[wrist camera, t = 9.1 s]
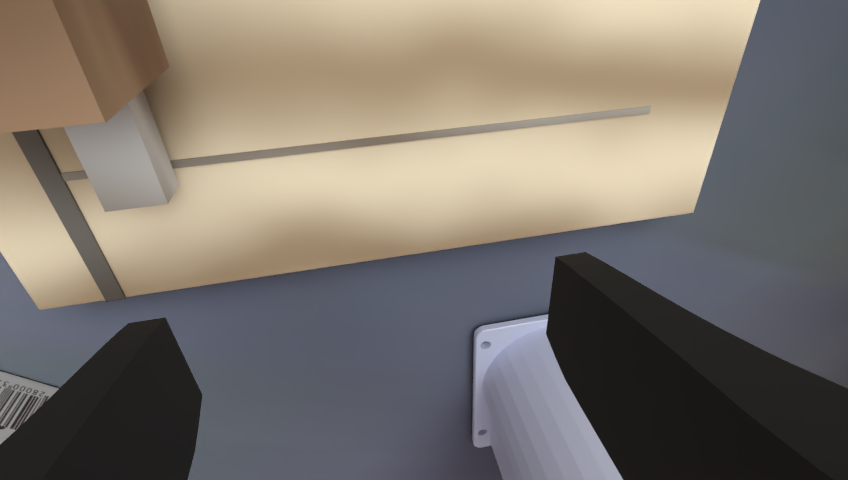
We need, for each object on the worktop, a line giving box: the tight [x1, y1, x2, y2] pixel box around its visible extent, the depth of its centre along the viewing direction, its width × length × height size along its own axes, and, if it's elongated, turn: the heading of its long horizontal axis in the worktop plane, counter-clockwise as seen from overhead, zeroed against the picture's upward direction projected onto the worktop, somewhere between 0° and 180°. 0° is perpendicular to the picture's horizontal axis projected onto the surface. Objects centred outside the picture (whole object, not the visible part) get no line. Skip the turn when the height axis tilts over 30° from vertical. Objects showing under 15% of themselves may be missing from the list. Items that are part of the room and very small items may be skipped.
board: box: [0, 0, 760, 310], centre depth 14 cm, size 12×24×2 cm, turn 92°
